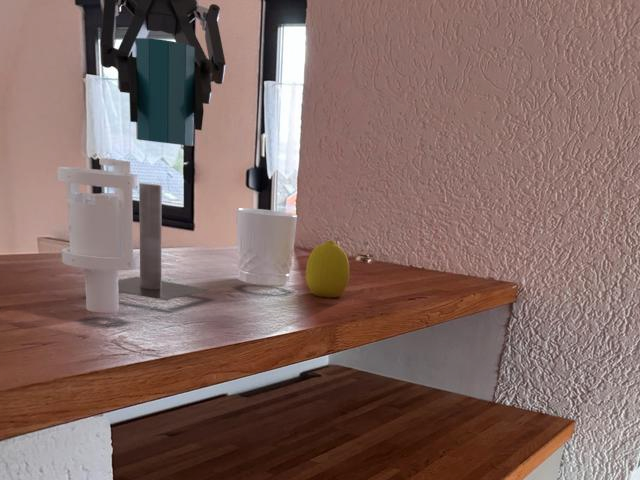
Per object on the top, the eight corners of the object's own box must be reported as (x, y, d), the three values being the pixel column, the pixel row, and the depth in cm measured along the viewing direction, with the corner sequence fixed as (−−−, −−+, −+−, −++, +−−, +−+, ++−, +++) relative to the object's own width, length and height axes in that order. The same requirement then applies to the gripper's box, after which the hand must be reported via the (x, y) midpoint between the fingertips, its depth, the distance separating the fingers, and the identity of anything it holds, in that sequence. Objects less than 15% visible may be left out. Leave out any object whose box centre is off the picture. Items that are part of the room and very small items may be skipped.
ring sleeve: (125, 138, 82) (123, 35, 78) (155, 141, 88) (155, 46, 84) (174, 144, 81) (175, 40, 77) (202, 147, 87) (204, 50, 83)
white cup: (283, 297, 96) (289, 217, 92) (225, 289, 96) (228, 209, 92) (297, 289, 103) (303, 214, 99) (243, 281, 104) (247, 207, 100)
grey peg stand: (87, 296, 83) (83, 178, 78) (136, 286, 91) (135, 179, 86) (167, 310, 80) (167, 189, 75) (209, 298, 89) (212, 189, 84)
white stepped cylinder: (154, 322, 74) (154, 164, 69) (103, 332, 69) (99, 159, 63) (102, 310, 77) (97, 156, 71) (48, 318, 71) (39, 151, 65)
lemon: (295, 300, 95) (300, 236, 92) (328, 299, 98) (334, 237, 95) (320, 309, 91) (326, 242, 88) (354, 307, 95) (361, 243, 92)
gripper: (234, 11, 94) (249, 152, 87) (75, -17, 88) (75, 132, 81) (242, -47, 87) (259, 100, 80) (70, -82, 81) (70, 74, 74)
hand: (166, 116), depth 80 cm, fingers closed on ring sleeve, 6 cm apart
